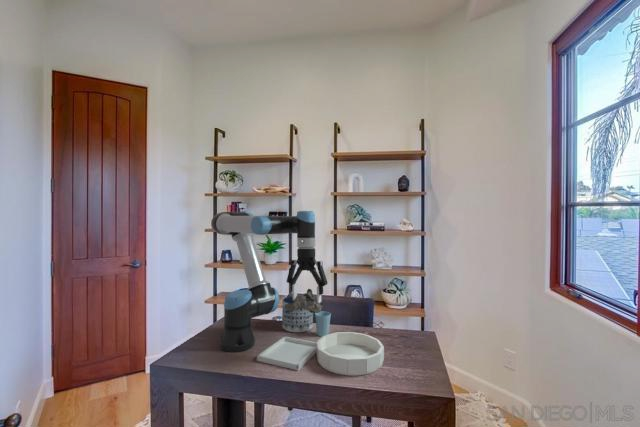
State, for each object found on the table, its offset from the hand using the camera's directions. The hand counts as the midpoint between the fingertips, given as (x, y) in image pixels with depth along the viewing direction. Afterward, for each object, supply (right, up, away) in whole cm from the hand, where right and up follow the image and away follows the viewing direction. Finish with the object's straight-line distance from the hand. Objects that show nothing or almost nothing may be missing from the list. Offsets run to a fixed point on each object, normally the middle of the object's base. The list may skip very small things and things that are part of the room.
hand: (306, 301), depth 129 cm
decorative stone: (-1, -4, 0) cm, 4 cm away
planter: (-6, -23, +33) cm, 41 cm away
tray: (-7, -23, +2) cm, 24 cm away
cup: (+7, -23, +23) cm, 33 cm away
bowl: (+18, -23, -3) cm, 29 cm away
